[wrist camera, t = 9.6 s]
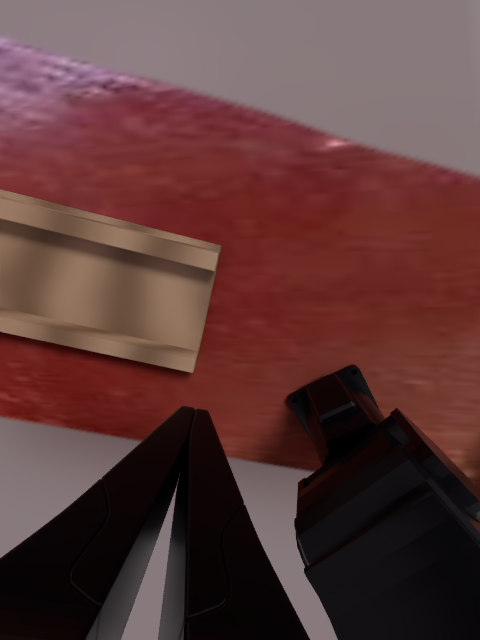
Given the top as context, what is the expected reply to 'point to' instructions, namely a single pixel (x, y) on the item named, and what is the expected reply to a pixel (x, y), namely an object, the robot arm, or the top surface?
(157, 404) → the top surface
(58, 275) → the chute
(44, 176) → the top surface
